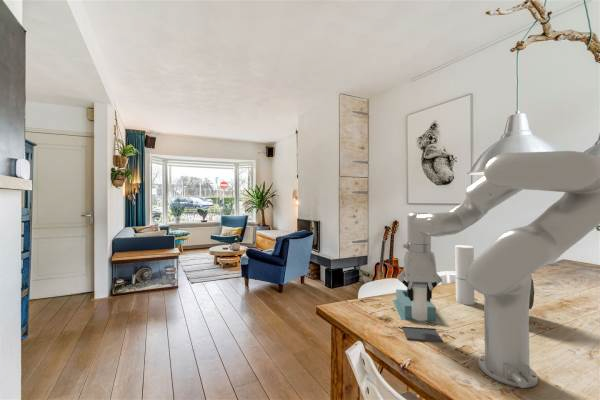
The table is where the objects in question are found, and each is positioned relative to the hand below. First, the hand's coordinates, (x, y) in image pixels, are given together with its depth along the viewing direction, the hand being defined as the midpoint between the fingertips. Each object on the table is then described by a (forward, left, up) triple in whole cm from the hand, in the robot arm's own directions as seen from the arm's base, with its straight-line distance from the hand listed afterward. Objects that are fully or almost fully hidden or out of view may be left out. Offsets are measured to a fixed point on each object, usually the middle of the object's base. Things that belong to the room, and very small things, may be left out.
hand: (419, 299), depth 94 cm
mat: (0, 0, -12) cm, 12 cm away
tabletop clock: (+20, -37, -12) cm, 44 cm away
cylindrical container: (+33, -27, -12) cm, 44 cm away
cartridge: (0, 0, -6) cm, 6 cm away
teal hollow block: (+18, -2, -12) cm, 21 cm away
